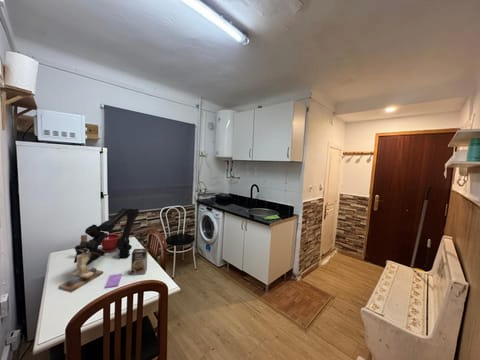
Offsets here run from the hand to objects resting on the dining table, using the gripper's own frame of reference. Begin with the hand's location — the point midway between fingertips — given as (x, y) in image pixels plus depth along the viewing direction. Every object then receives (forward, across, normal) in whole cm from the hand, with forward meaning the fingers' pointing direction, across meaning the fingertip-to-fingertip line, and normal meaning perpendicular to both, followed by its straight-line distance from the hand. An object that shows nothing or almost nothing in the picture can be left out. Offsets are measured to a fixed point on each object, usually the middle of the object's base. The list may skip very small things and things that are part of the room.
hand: (80, 264), depth 119 cm
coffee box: (-6, +26, +22) cm, 35 cm away
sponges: (+4, +18, +13) cm, 23 cm away
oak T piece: (+4, 0, +6) cm, 8 cm away
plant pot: (-20, -19, +37) cm, 46 cm away
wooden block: (-9, -23, +26) cm, 36 cm away
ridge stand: (+7, 0, +9) cm, 12 cm away
